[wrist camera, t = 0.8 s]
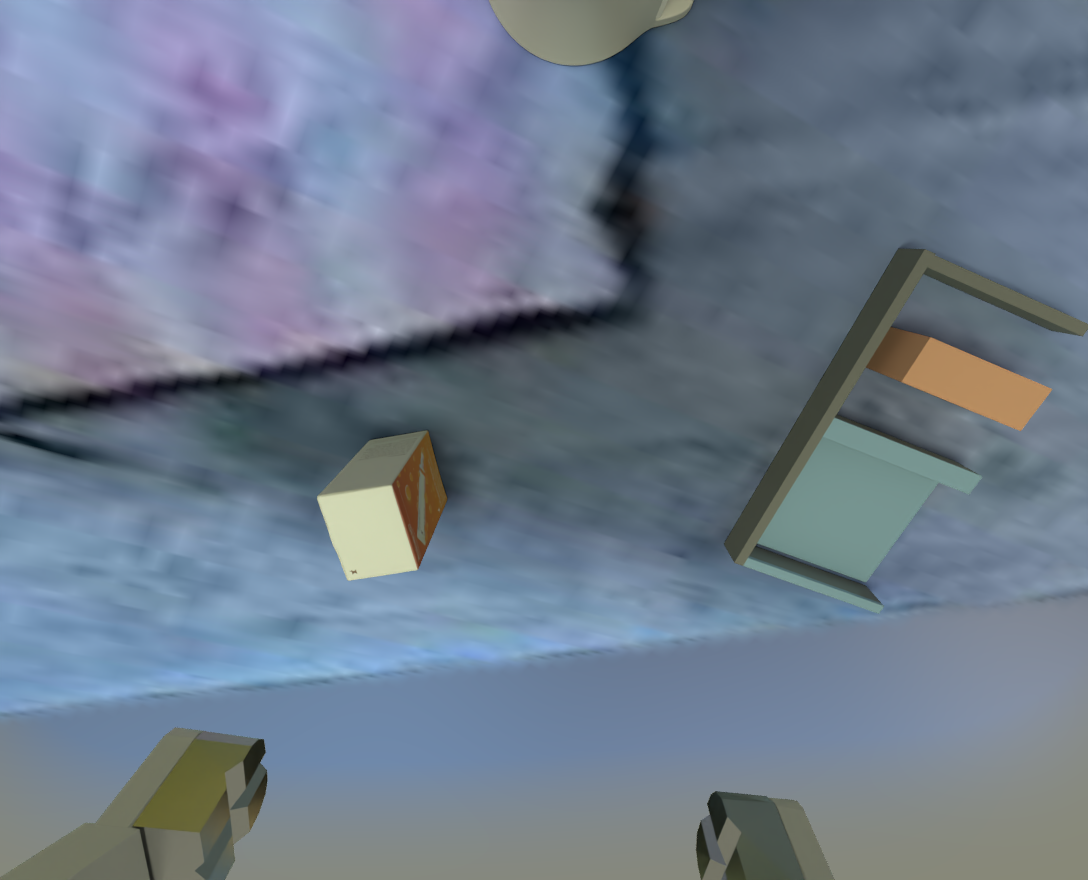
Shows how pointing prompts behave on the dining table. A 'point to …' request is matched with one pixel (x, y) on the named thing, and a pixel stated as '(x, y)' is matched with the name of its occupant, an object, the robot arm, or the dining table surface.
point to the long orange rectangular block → (958, 377)
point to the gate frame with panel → (859, 454)
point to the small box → (385, 506)
